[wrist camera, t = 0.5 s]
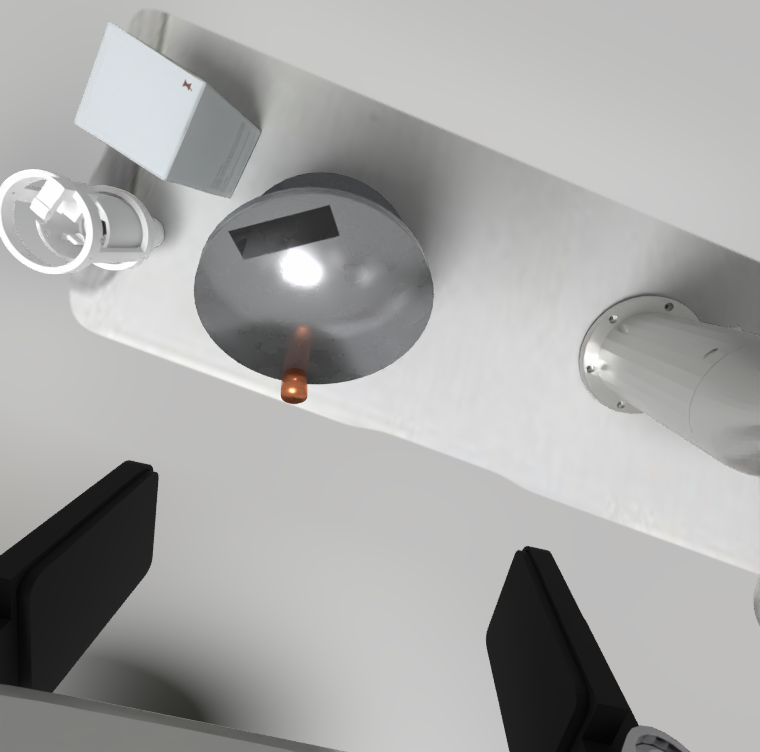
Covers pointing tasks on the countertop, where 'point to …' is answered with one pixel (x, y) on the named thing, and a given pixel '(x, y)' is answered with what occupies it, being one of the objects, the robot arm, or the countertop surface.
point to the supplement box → (164, 117)
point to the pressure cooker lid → (313, 287)
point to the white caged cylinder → (78, 223)
